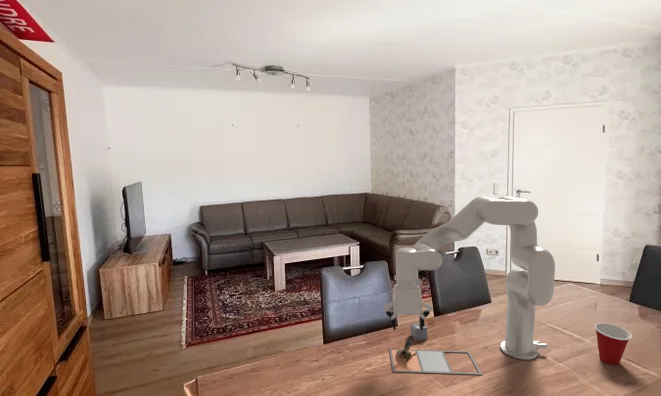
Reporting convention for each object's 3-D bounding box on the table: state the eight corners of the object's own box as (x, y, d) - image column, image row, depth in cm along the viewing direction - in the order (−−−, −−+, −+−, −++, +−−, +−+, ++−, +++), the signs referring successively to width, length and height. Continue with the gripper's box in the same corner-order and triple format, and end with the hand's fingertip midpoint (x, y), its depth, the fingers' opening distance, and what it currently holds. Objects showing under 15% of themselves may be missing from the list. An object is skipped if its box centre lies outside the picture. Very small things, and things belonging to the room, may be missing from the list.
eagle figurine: (422, 360, 131) (416, 343, 139) (412, 347, 129) (407, 330, 138) (403, 370, 132) (399, 352, 141) (393, 357, 130) (389, 340, 139)
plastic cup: (619, 373, 125) (622, 340, 124) (585, 357, 135) (588, 326, 133) (635, 364, 130) (638, 332, 129) (601, 350, 140) (604, 320, 138)
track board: (469, 352, 139) (469, 351, 139) (482, 375, 125) (482, 374, 125) (389, 349, 141) (389, 349, 141) (392, 372, 127) (392, 371, 127)
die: (421, 333, 154) (422, 322, 153) (427, 339, 149) (427, 327, 148) (410, 334, 153) (410, 323, 152) (415, 340, 148) (415, 328, 147)
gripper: (429, 278, 133) (429, 323, 135) (382, 279, 134) (382, 323, 136) (434, 286, 126) (434, 333, 128) (383, 286, 127) (384, 333, 129)
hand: (407, 328), depth 132 cm, fingers open, 9 cm apart
